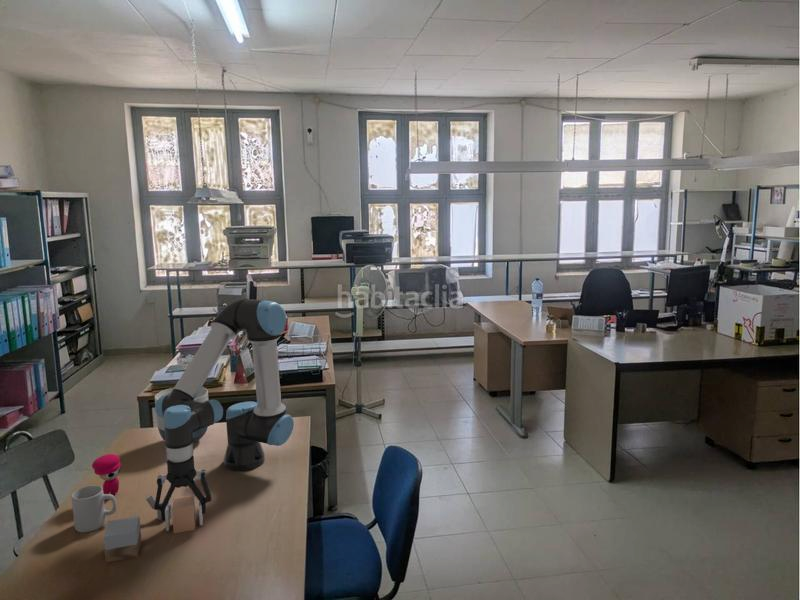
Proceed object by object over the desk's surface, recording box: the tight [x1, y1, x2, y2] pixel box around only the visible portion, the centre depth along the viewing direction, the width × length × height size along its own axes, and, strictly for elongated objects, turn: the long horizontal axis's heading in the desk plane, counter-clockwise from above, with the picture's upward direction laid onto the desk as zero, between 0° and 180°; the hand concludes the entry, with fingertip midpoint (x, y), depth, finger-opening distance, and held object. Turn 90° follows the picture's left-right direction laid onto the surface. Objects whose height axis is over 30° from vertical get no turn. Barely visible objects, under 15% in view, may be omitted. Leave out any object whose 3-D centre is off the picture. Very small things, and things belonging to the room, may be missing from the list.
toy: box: [91, 453, 122, 496], centre depth 183 cm, size 8×8×15 cm
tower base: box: [103, 529, 142, 563], centre depth 155 cm, size 8×8×4 cm
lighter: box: [145, 494, 173, 520], centre depth 172 cm, size 7×2×8 cm, turn 106°
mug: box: [71, 484, 118, 534], centre depth 168 cm, size 12×8×11 cm
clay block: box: [172, 495, 197, 534], centre depth 167 cm, size 6×6×8 cm
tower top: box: [103, 516, 141, 550], centre depth 155 cm, size 8×8×4 cm
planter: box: [154, 386, 209, 444], centre depth 225 cm, size 20×20×21 cm
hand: (184, 525), depth 168 cm, fingers open, 9 cm apart
